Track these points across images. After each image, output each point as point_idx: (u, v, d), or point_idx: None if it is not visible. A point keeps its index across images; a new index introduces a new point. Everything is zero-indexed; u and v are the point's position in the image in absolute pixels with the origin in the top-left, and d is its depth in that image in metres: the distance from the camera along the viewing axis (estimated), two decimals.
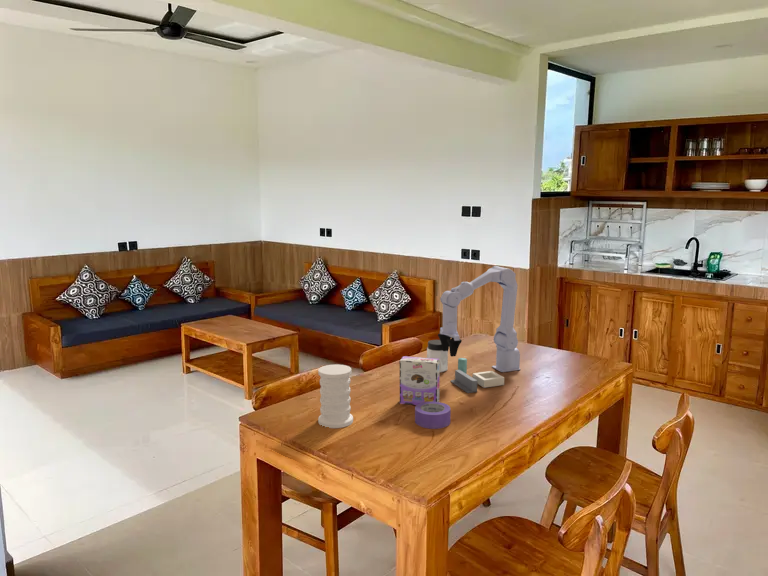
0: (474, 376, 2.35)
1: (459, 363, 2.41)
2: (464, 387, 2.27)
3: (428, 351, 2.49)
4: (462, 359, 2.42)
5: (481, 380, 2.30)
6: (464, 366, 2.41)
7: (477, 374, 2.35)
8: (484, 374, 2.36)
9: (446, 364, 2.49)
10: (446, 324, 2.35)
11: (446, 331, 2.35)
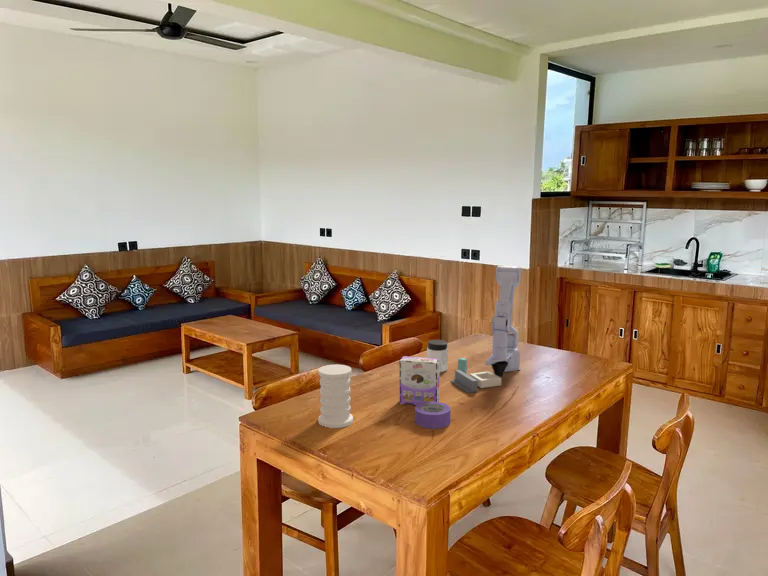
0: (471, 376, 2.34)
1: (459, 363, 2.41)
2: (464, 387, 2.27)
3: (428, 351, 2.49)
4: (462, 359, 2.42)
5: (478, 380, 2.29)
6: (464, 366, 2.41)
7: (474, 374, 2.34)
8: (481, 374, 2.36)
9: (446, 364, 2.49)
10: (492, 348, 2.34)
11: (492, 355, 2.34)
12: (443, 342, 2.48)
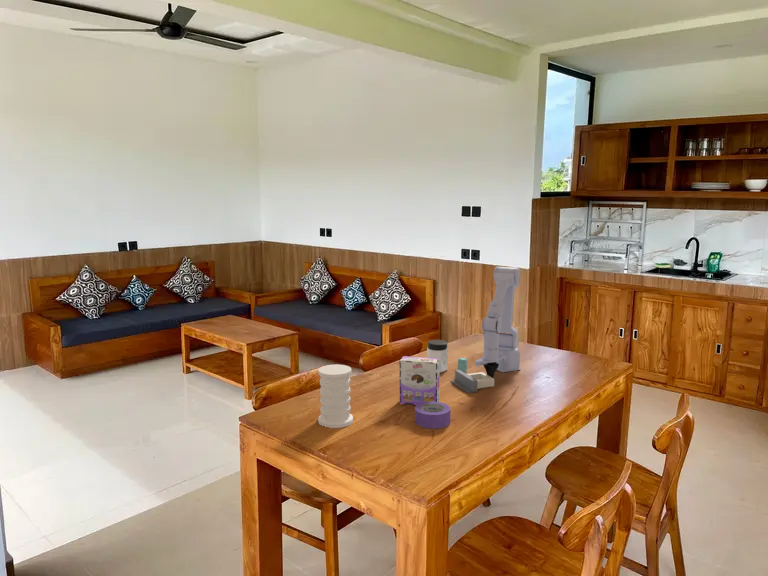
0: None
1: (459, 363, 2.41)
2: (464, 387, 2.27)
3: (428, 351, 2.49)
4: (462, 359, 2.42)
5: None
6: (464, 366, 2.41)
7: None
8: (474, 375, 2.35)
9: (446, 364, 2.49)
10: None
11: (483, 356, 2.33)
12: (443, 342, 2.48)
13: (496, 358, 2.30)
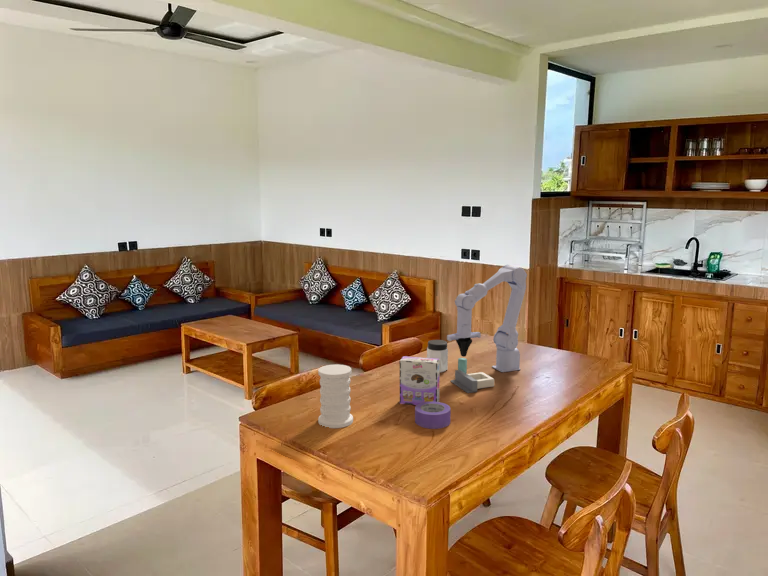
0: None
1: (459, 363, 2.41)
2: (464, 387, 2.27)
3: (428, 351, 2.49)
4: (462, 359, 2.42)
5: None
6: (464, 366, 2.41)
7: None
8: (474, 375, 2.35)
9: (446, 364, 2.49)
10: None
11: None
12: (443, 342, 2.48)
13: (468, 334, 2.37)
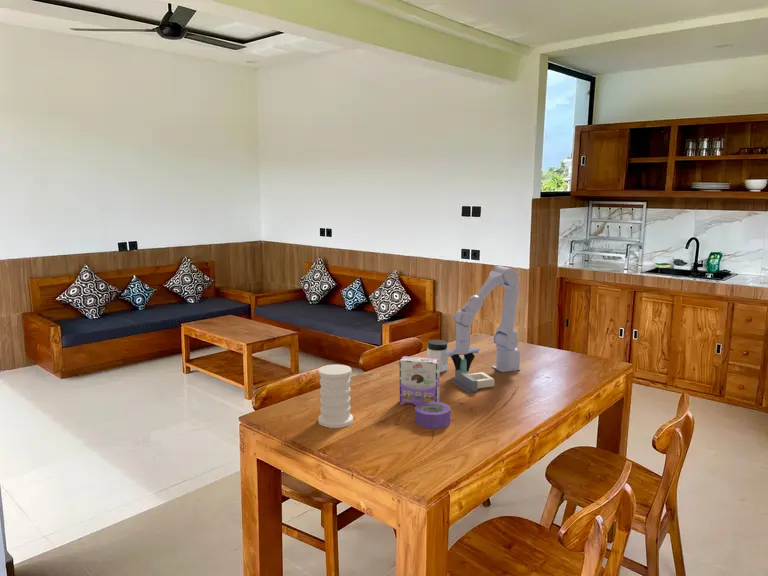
0: None
1: None
2: (464, 387, 2.27)
3: (428, 351, 2.49)
4: (462, 359, 2.42)
5: None
6: (464, 366, 2.41)
7: None
8: (474, 375, 2.35)
9: (446, 364, 2.49)
10: None
11: None
12: (443, 342, 2.48)
13: (466, 350, 2.39)
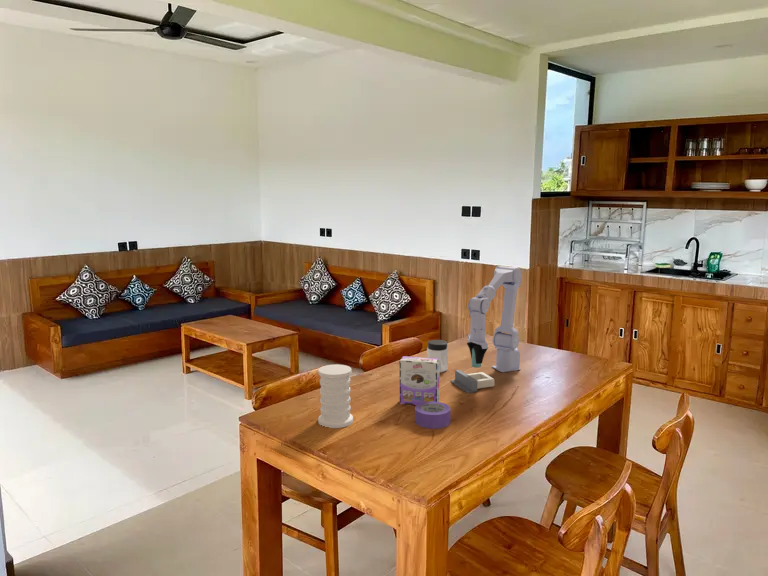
0: None
1: None
2: (464, 387, 2.27)
3: (428, 351, 2.49)
4: None
5: None
6: None
7: None
8: (474, 375, 2.35)
9: (446, 364, 2.49)
10: (474, 331, 2.27)
11: (474, 339, 2.28)
12: (443, 342, 2.48)
13: None
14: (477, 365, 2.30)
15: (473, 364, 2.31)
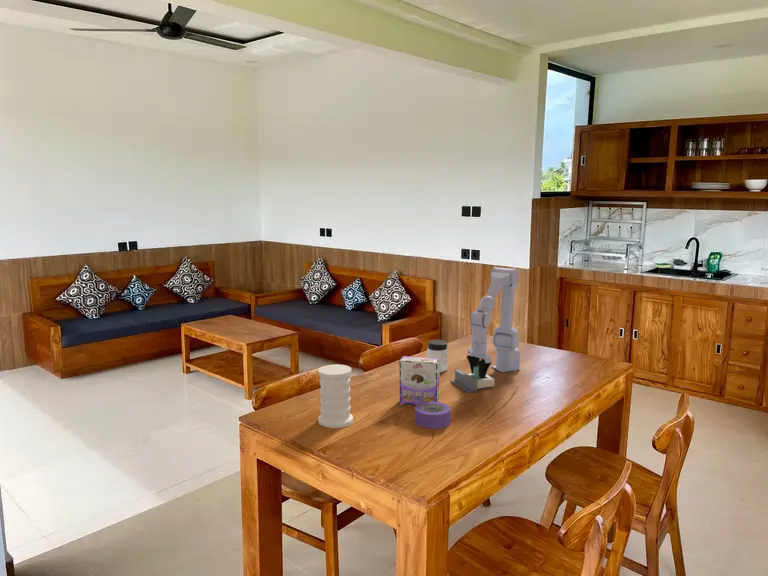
0: None
1: None
2: (464, 387, 2.27)
3: (428, 351, 2.49)
4: None
5: None
6: None
7: None
8: None
9: (446, 364, 2.49)
10: (476, 346, 2.27)
11: (476, 353, 2.27)
12: (443, 342, 2.48)
13: None
14: None
15: None
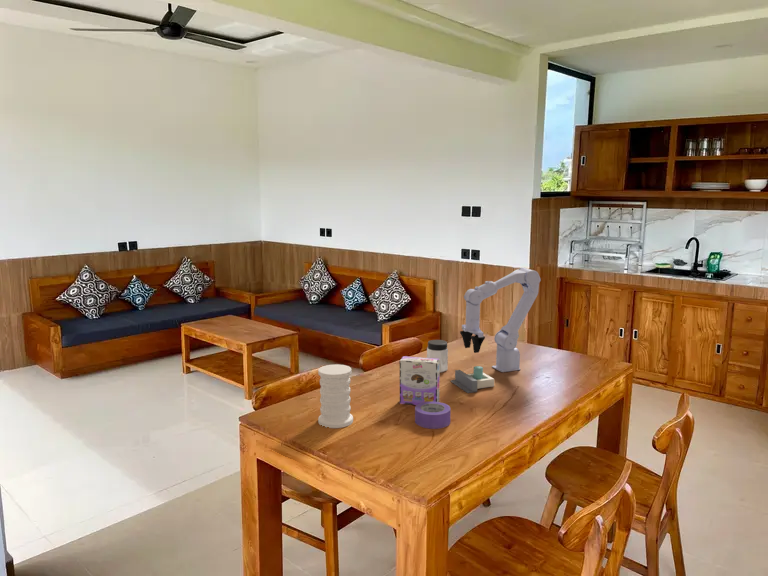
0: None
1: (481, 372, 2.30)
2: (464, 387, 2.27)
3: (428, 351, 2.49)
4: (479, 367, 2.31)
5: None
6: None
7: None
8: None
9: (446, 364, 2.49)
10: (470, 321, 2.42)
11: (470, 328, 2.42)
12: (443, 342, 2.48)
13: None
14: None
15: None
